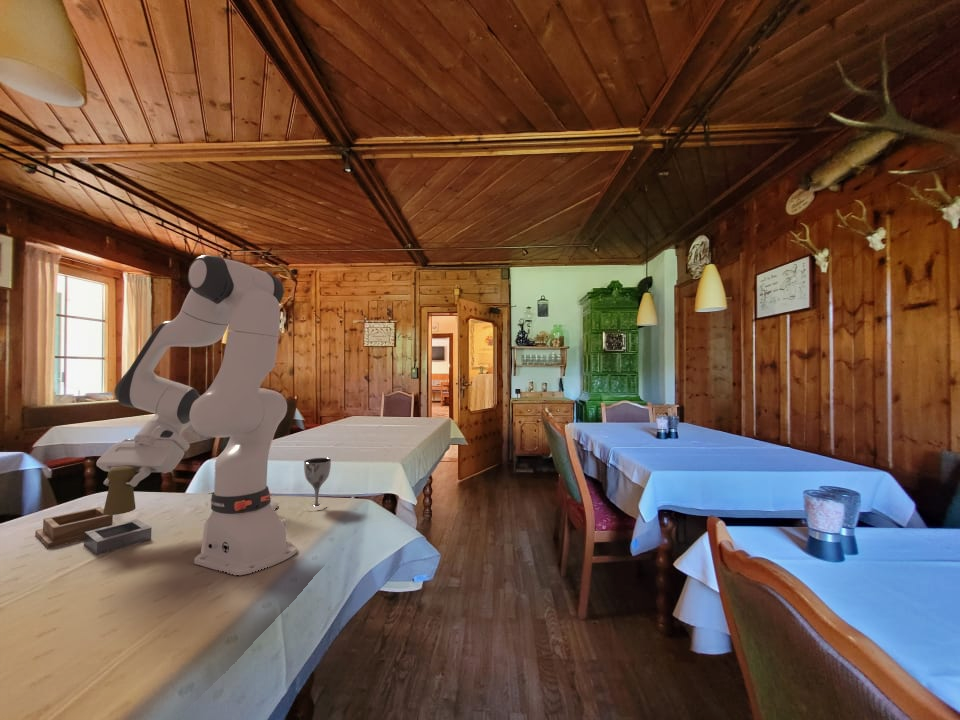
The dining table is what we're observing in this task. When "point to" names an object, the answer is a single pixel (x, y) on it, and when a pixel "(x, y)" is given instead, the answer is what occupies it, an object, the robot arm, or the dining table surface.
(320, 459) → the wine glass
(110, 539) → the socket block
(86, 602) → the dining table surface
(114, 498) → the cork
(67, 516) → the walnut rack
